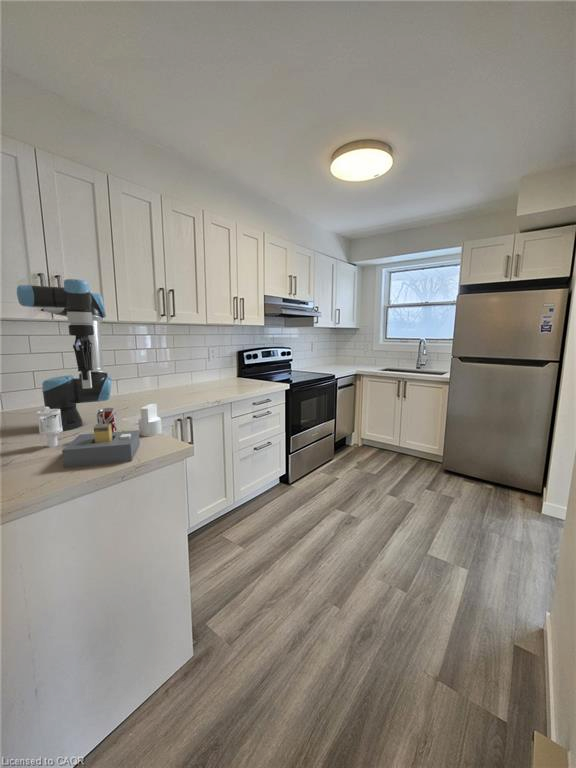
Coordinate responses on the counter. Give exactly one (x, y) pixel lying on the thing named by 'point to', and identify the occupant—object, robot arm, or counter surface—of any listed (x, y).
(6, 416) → the counter surface
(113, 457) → the socket board
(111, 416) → the soda can
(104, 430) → the rectangular block
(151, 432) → the cylinder with rectangular tab
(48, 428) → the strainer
